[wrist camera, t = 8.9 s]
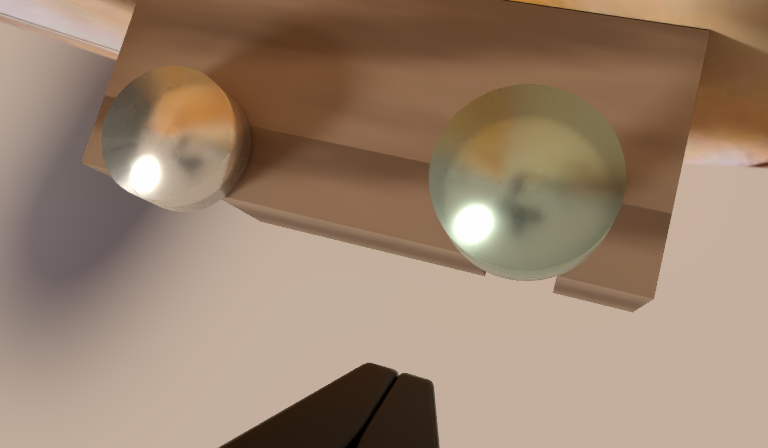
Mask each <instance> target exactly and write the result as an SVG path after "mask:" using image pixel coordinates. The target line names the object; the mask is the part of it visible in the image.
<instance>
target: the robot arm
mask: <svg viewBox="0 0 768 448" xmlns="http://www.w3.org/2000/svg"><path fill="white" fill-rule="evenodd" d="M219 448H440V447H439V437H438V427H437V416H436V407H435V395H434V387H433V383H432V382H431V381H430V380H428V379H424V378H421V377H418V376H414V375H411V374H408V373H402V374H400V375H398V373H397V372H396V371H395V370H393V369H390V368H387V367H383V366H380V365H376V364H373V363H366V364H363V365H362V366H360V367H358V368H356V369H354V370H353V371H351V372H349V373H347V374H346V375H344V376H342V377H340V378H339V379H337V380H335V381H333V382H332V383H330V384H328V385H327V386H325V387H323V388H321V389H320V390H318V391H316V392H314V393H313V394H311V395H309V396H307V397H306V398H304V399H302V400H300V401H299V402H297V403H295V404H293V405H292V406H290V407H288V408H286V409H285V410H283V411H281V412H279V413H278V414H276V415H275V416H273V417H271V418H269V419H267V420H266V421H264V422H262V423H260V424H259V425H257V426H255V427H253V428H252V429H250V430H248V431H246V432H245V433H243V434H241V435H239V436H238V437H236V438H234V439H233V440H231V441H229V442H227V443H226V444H224V445H222V446H220V447H219Z"/></svg>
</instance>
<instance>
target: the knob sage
mask: <svg viewBox="0 0 768 448" xmlns="http://www.w3.org/2000/svg"><path fill="white" fill-rule="evenodd" d="M625 186H626V166H625V159H624V155H623V151H622V148H621V145H620V143H619V140H618V138H617V136H616V134H615V132H614V131H613V129H612V127H611V126H610V124H609V123H608V122H607V121H606V119H605V118H604V117H603V116H602V114H600V113H599V112H598V111H597V110H596V109H595V108H594V107H593V106H592V105H590V104H589V103H587V102H586V101H585V100H583V99H582V98H580V97H578V96H576V95H574V94H572V93H570V92H567V91H565V90H562V89H559V88H555V87H551V86H547V85H538V84H519V85H512V86H507V87H503V88H499V89H496V90H493V91H490V92H488V93H485V94H483V95H482V96H480V97H478V98H476V99H474V100H473V101H471V102H470V103H469V104H467V105H466V106H464V107H463V108H462V109H461V110H460V111H459V112H458V113H457V114H455V116H454V117H453V118H452V119H451V120H450V121H449V123H448V124H447V125H446V127H445V128H444V130H443V131H442V133H441V135H440V137H439V139H438V141H437V143H436V145H435V148H434V151H433V154H432V157H431V162H430V167H429V190H430V195H431V200H432V204H433V207H434V210H435V212H436V215H437V217H438V219H439V221H440V223H441V225H442V226H443V228H444V230H445V231H446V233H447V235H448V236H449V238H450V240H451V241H452V243H453V244H454V245H455V247H456V248H457V249H458V250H459V251H460V253H461V254H462V255H463V256H464V257H465V258H467V259H468V260H469V261H470V262H471V263H473V264H474V265H476V266H477V267H479V268H480V269H482V270H484V271H486V272H488V273H490V274H493V275H495V276H499V277H502V278H506V279H511V280H517V281H533V280H534V281H535V280H543V279H548V278H552V277H555V276H558V275H561V274H564V273H566V272H568V271H570V270H572V269H573V268H575V267H577V266H578V265H580V264H581V263H582V262H584V261H585V260H586V259H587V258H588V257H590V256H591V255H592V254H593V253H594V252H595V250H596V249H597V248H598V247H599V246H600V245H601V243H602V241H603V240H604V238H605V237H606V235H607V233H608V232H609V230H610V228H611V226H612V224H613V222H614V220H615V218H616V216H617V214H618V212H619V210H620V207H621V204H622V201H623V197H624V193H625Z"/></svg>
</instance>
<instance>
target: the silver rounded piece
mask: <svg viewBox="0 0 768 448" xmlns="http://www.w3.org/2000/svg"><path fill="white" fill-rule="evenodd" d="M251 146H252V136H251V130H250V126H249V122H248V120H247V118H246V115H245V113H244V112H243V110H242V109H241V107H240V106H239V105H238V104H237V103H236V102H235V101H234V100H233V99H232V98H231V97H230V96H229V95H228V94H227V93H226V92H225V91H223V90H222V89H221V88H220V87H219V86H218V85H217V84H216V83H215V82H214V81H213V80H211V79H210V78H209V77H208V76H206V75H205V74H203V73H202V72H200V71H197V70H195V69H192V68H188V67H183V66H166V67H160V68H157V69H153V70H151V71H148V72H146V73H144V74H142V75H140V76H139V77H137V78H136V79H134V80H133V81H131V82H130V83H129V84H128V85H127V86H126V87H125V88H124V89H123V90H122V91H121V92H120V93H119V94H118V95H117V97H116V98H115V100H114V101H113V103H112V105H111V106H110V108H109V110H108V112H107V115H106V117H105V120H104V124H103V128H102V135H101V148H102V155H103V159H104V162H105V165H106V167H107V169H108V171H109V173H110V175H111V176H112V177H113V179H114V180H115V181H116V182H117V183H118V184H119V185H120V186H121V187H122V188H124V189H125V190H126V191H128V192H130V193H132V194H134V195H136V196H138V197H140V198H143V199H145V200H147V201H149V202H151V203H153V204H156V205H158V206H160V207H162V208H165V209H168V210H173V211H178V212H189V211H195V210H200V209H203V208H206V207H208V206H211V205H213V204H214V203H216V202H218V201H219V200H221V199H222V198H224V197H225V196H226V195H227V194H228V193H229V192H230V191H231V190H232V189H233V188H234V187H235V186H236V185H237V183H238V182H239V180H240V179H241V177H242V176H243V174H244V172H245V170H246V167H247V165H248V162H249V158H250V154H251Z"/></svg>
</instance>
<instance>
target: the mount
mask: <svg viewBox="0 0 768 448" xmlns="http://www.w3.org/2000/svg"><path fill="white" fill-rule="evenodd" d="M709 35H710V31H709V30H702V29H695V28H688V27H681V26H675V25H668V24H661V23H654V22H647V21H640V20H634V19H627V18H620V17H613V16H606V15H600V14H593V13H586V12H579V11H572V10H565V9H559V8H552V7H545V6H538V5H531V4H525V3H518V2H511V1H504V0H138V1H137V4H136V7H135V9H134V12H133V15H132V18H131V21H130V24H129V27H128V30H127V33H126V36H125V38H124V41H123V44H122V47H121V50H120V53H119V56H118V59H117V62H116V64H115V67H114V71H113V73H112V76H111V79H110V82H109V85H108V88H107V91H106V93H105V97H104V99H103V102H102V105H101V108H100V111H99V114H98V117H97V120H96V123H95V125H94V129H93V131H92V134H91V137H90V140H89V143H88V146H87V148H86V152H85V154H84V157H83V160H82V163H83V164H85V165H87V166H89V167H91V168H93V169H96V170H98V171H100V172H102V173H104V174H106V175H108V176H110V177H112V176H111V175H110V173H109V171H108V169H107V167H106V165H105V162H104V159H103V155H102V148H101V135H102V128H103V124H104V120H105V117H106V115H107V112H108V110H109V108H110V106H111V105H112V103H113V101H114V100H115V98H116V97H117V95H118V94H119V93H120V92H121V91H122V90H123V89H124V88H125V87H126V86H127V85H128V84H129V83H130V82H131V81H133V80H134V79H136V78H137V77H139V76H140V75H142V74H144V73H146V72H148V71H151V70H153V69H157V68H160V67H166V66H183V67H188V68H192V69H195V70H197V71H200V72H202V73H203V74H205V75H206V76H208V77H209V78H210V79H211V80H213V81H214V82H215V83H216V84H217V85H218V86H219V87H220V88H221V89H222V90H223V91H225V92H226V93H227V94H228V95H229V96H230V97H231V98H232V99H233V100H234V101H235V102H236V103H237V104H238V105H239V106H240V107H241V109H242V110H243V112H244V113H245V115H246V118H247V120H248V122H249V126H250V130H251V136H252V146H251V154H250V158H249V162H248V165H247V167H246V170H245V172H244V174H243V176H242V177H241V179H240V180H239V182H238V183H237V185H236V186H235V187H234V188H233V189H232V190H231V191H230V192H229V193H228V194H227V195H226V196H225V197H224V198H222V200H224V201H226V202H228V203H229V204H231V205H233V206H235V207H236V208H238V209H240V210H242V211H243V212H245V213H247V214H249V215H250V216H252V217H254V218H256V219H257V220H259V221H261V222H265V223H269V224H273V225H277V226H281V227H285V228H290V229H294V230H298V231H302V232H306V233H310V234H314V235H318V236H322V237H327V238H331V239H335V240H339V241H343V242H347V243H351V244H355V245H359V246H363V247H367V248H372V249H376V250H380V251H384V252H388V253H392V254H397V255H400V256H404V257H409V258H413V259H417V260H421V261H425V262H429V263H433V264H437V265H441V266H445V267H450V268H454V269H458V270H462V271H466V272H471V273H474V274H478V275H482V276H485V273H486V271H484V270H482V269H480V268H479V267H477V266H476V265H474V264H473V263H471V262H470V261H469V260H468V259H467V258H465V257H464V256H463V255H462V254H461V253H460V251H459V250H458V249H457V248H456V247H455V245H454V244H453V243H452V241H451V240H450V238H449V236H448V235H447V233H446V231H445V230H444V228H443V226H442V225H441V223H440V221H439V219H438V217H437V215H436V212H435V210H434V207H433V204H432V200H431V195H430V190H429V167H430V162H431V157H432V154H433V151H434V148H435V145H436V143H437V141H438V139H439V137H440V135H441V133H442V131H443V130H444V128H445V127H446V125H447V124H448V123H449V121H450V120H451V119H452V118H453V117H454V116H455V114H457V113H458V112H459V111H460V110H461V109H462V108H463V107H464V106H466V105H467V104H469V103H470V102H471V101H473V100H474V99H476V98H478V97H480V96H482V95H483V94H485V93H488V92H490V91H493V90H496V89H499V88H503V87H507V86H512V85H519V84H538V85H547V86H551V87H555V88H559V89H562V90H565V91H567V92H570V93H572V94H574V95H576V96H578V97H580V98H582V99H583V100H585V101H586V102H587V103H589V104H590V105H592V106H593V107H594V108H595V109H596V110H597V111H598V112H599V113H600V114H602V116H603V117H604V118H605V119H606V121H607V122H608V123H609V124H610V126H611V127H612V129H613V131H614V132H615V134H616V136H617V138H618V140H619V143H620V145H621V148H622V151H623V155H624V159H625V166H626V186H625V193H624V197H623V201H622V204H621V207H620V210H619V212H618V214H617V216H616V218H615V220H614V222H613V224H612V226H611V228H610V230H609V232H608V233H607V235H606V237H605V238H604V240H603V241H602V243H601V245H600V246H599V247H598V248H597V249H596V250H595V252H594V253H593V254H592V255H591V256H590V257H588V258H587V259H586V260H585V261H584V262H582V263H581V264H580V265H578V266H577V267H575V268H573V269H572V270H570V271H568V272H566V273H564V274H561V275H558V276H557V278H556V283H555V287H554V291H553V293H557V294H561V295H565V296H569V297H573V298H577V299H581V300H585V301H589V302H593V303H598V304H602V305H605V306H610V307H614V308H618V309H622V310H626V311H630V312H634V311H635V310H637V309H638V308H640V307H642V306H643V305H645V304H646V303H648V302H650V301H651V300H653V299H654V295H655V291H656V286H657V281H658V276H659V272H660V267H661V262H662V257H663V253H664V248H665V243H666V238H667V234H668V229H669V224H670V219H671V215H672V210H673V205H674V201H675V196H676V191H677V186H678V181H679V177H680V172H681V167H682V163H683V158H684V153H685V149H686V144H687V139H688V134H689V130H690V125H691V120H692V115H693V111H694V106H695V101H696V96H697V92H698V87H699V82H700V77H701V73H702V68H703V63H704V59H705V54H706V49H707V44H708V40H709ZM112 178H113V177H112Z"/></svg>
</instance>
